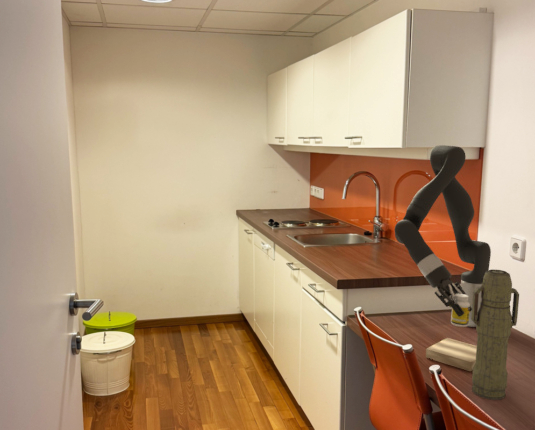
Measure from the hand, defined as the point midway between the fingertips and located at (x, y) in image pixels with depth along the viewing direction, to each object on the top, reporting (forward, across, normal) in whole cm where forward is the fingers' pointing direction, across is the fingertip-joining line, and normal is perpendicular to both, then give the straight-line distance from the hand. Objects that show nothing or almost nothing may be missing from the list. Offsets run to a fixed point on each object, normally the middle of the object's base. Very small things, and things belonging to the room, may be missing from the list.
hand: (465, 313), depth 169 cm
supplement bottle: (+2, 0, +4) cm, 5 cm away
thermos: (+22, -18, 0) cm, 28 cm away
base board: (+10, 0, +12) cm, 16 cm away
